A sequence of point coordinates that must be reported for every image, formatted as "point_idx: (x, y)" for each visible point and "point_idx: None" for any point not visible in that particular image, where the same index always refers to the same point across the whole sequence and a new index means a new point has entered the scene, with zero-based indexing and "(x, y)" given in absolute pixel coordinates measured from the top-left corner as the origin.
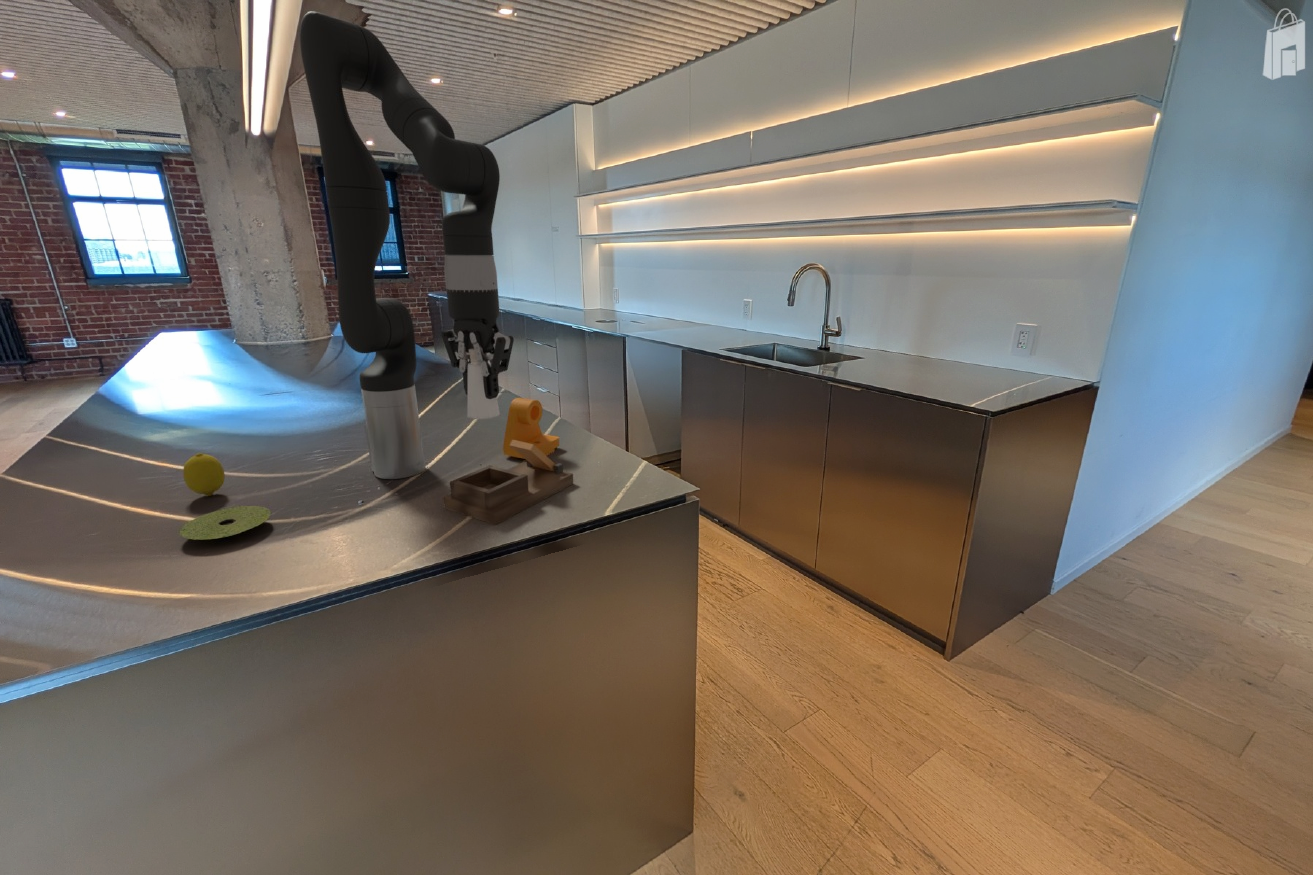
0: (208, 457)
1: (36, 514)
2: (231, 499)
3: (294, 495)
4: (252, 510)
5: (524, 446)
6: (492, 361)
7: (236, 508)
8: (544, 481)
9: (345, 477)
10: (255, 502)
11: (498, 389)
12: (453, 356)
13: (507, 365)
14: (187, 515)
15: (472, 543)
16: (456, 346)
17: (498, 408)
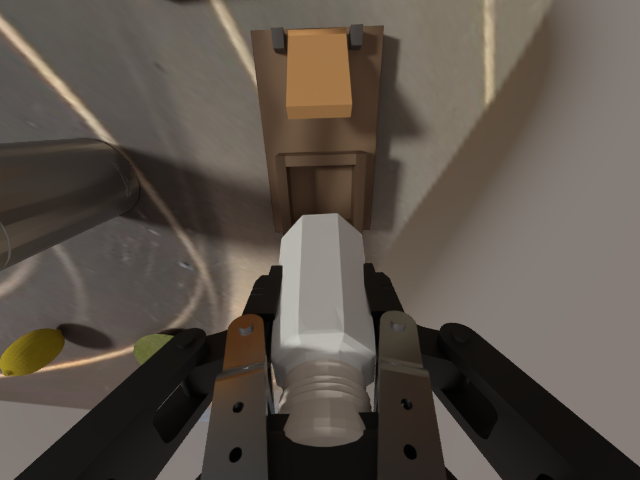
0: (15, 365)
1: (31, 396)
2: (85, 324)
3: (113, 291)
4: (154, 340)
5: (329, 113)
6: (459, 422)
7: (139, 345)
8: (358, 99)
9: (81, 235)
10: (109, 316)
11: (390, 283)
12: (192, 426)
13: (491, 351)
14: (107, 352)
15: (374, 262)
16: (136, 465)
17: (362, 242)
